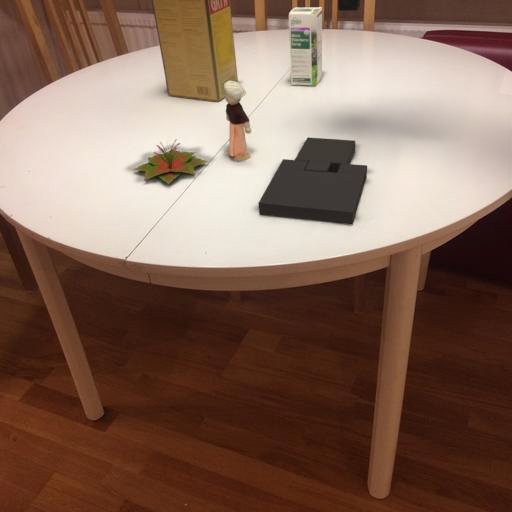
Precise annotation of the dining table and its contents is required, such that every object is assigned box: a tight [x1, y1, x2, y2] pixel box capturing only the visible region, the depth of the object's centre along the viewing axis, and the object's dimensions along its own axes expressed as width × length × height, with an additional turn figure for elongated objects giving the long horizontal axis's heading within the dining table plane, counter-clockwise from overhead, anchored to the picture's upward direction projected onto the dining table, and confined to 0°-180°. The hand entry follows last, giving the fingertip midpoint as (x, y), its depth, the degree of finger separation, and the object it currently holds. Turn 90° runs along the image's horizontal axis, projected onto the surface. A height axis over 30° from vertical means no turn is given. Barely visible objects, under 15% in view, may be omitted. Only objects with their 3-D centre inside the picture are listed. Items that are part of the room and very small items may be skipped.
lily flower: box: [131, 138, 210, 185], centre depth 85 cm, size 12×12×5 cm
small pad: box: [294, 136, 356, 173], centre depth 83 cm, size 8×11×2 cm
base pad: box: [257, 158, 368, 225], centre depth 76 cm, size 13×13×2 cm
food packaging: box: [151, 0, 239, 103], centre depth 106 cm, size 13×9×25 cm
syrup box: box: [288, 6, 323, 87], centre depth 109 cm, size 6×6×14 cm
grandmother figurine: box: [224, 81, 252, 162], centre depth 84 cm, size 8×4×13 cm, turn 40°
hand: (348, 9), depth 84 cm, fingers closed
